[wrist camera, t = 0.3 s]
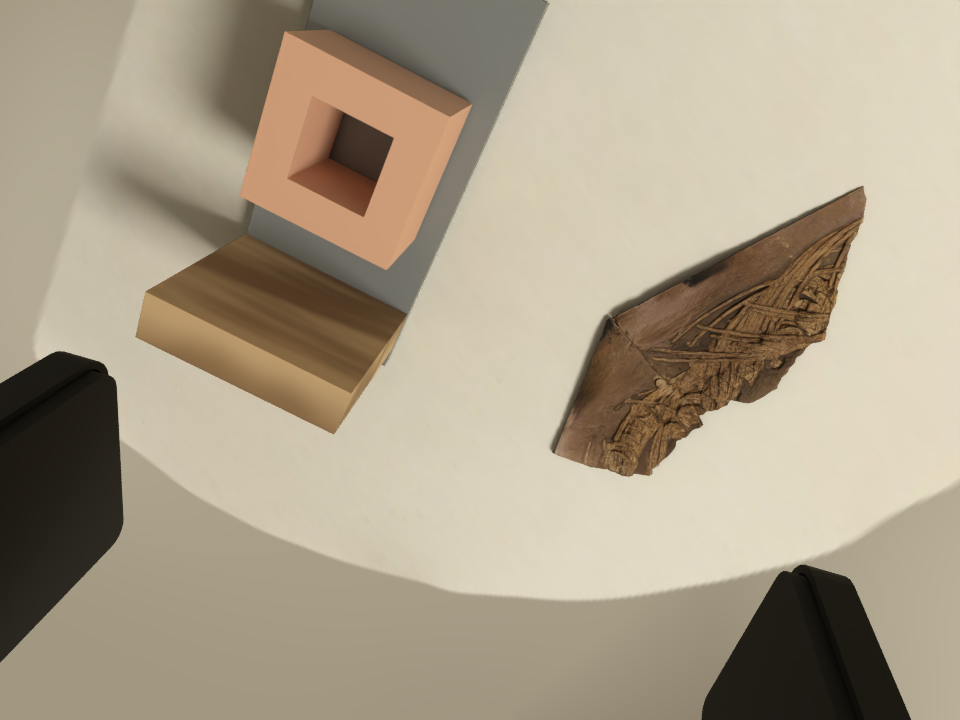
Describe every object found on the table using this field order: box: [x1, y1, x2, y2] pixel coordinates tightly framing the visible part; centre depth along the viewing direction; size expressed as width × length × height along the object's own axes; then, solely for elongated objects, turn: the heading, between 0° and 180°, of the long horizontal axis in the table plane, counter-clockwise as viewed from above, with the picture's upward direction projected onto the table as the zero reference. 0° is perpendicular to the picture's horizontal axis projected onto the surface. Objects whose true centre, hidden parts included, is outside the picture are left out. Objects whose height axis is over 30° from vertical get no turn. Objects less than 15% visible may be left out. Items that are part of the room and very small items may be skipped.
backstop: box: [136, 234, 407, 434], centre depth 41 cm, size 3×12×11 cm, turn 65°
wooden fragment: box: [553, 186, 866, 477], centre depth 44 cm, size 26×11×1 cm, turn 138°
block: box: [240, 30, 472, 270], centre depth 38 cm, size 9×9×6 cm
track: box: [246, 0, 549, 366], centre depth 42 cm, size 25×12×1 cm, turn 155°
